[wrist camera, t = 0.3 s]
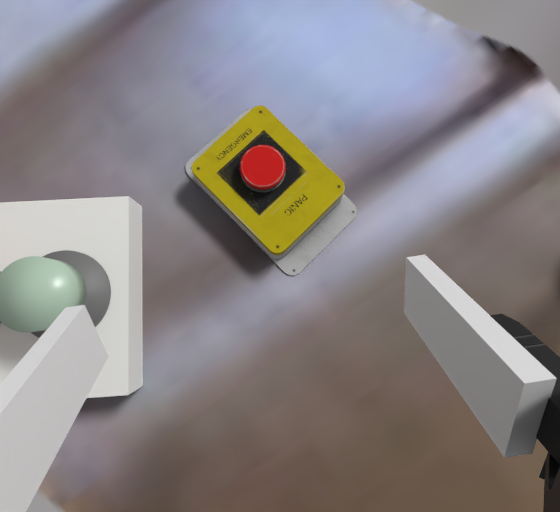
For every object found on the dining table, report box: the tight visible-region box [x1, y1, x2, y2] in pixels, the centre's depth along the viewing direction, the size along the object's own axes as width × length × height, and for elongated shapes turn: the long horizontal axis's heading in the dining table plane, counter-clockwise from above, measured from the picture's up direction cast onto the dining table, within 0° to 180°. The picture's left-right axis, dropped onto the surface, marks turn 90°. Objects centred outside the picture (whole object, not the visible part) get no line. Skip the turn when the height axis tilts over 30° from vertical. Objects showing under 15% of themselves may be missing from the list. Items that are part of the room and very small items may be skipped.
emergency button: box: [186, 106, 357, 276], centre depth 30 cm, size 9×4×15 cm
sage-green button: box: [0, 256, 86, 332], centre depth 24 cm, size 5×5×2 cm
